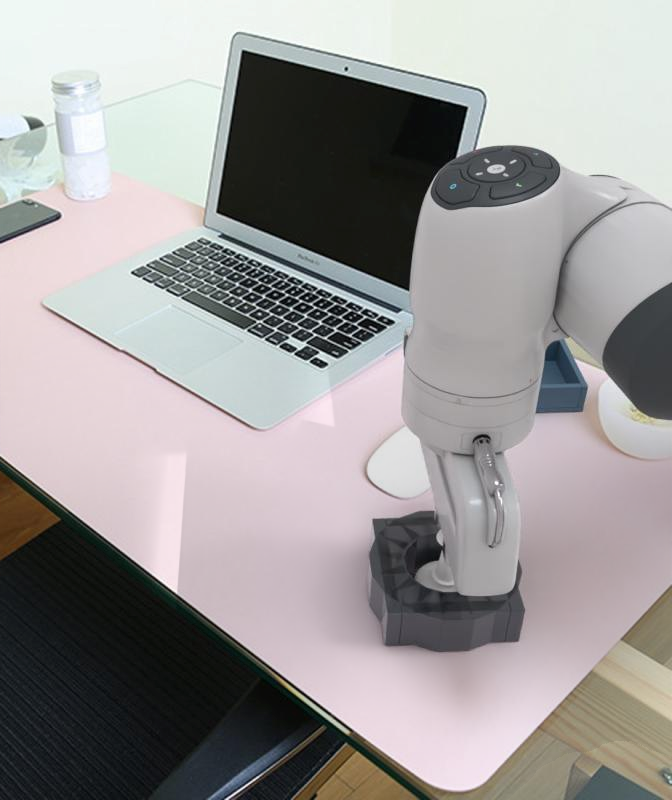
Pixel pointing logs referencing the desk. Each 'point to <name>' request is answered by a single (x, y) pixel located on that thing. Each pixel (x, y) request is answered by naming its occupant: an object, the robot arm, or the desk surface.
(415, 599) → the dark grey ring block
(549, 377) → the basin tray
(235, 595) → the desk surface
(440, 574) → the chess piece
